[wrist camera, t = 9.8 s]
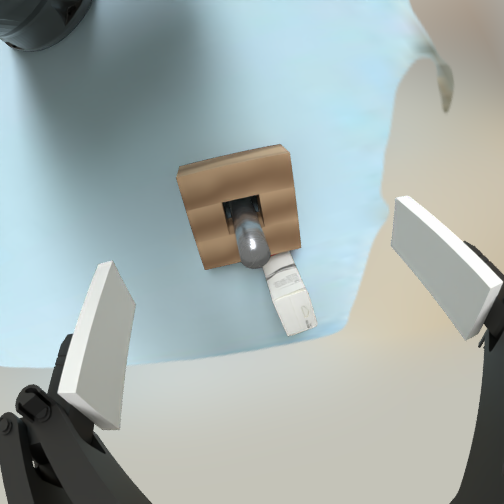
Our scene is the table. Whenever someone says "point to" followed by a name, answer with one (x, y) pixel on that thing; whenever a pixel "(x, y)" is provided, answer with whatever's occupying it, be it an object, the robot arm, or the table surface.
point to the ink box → (289, 294)
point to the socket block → (235, 187)
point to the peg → (249, 234)
